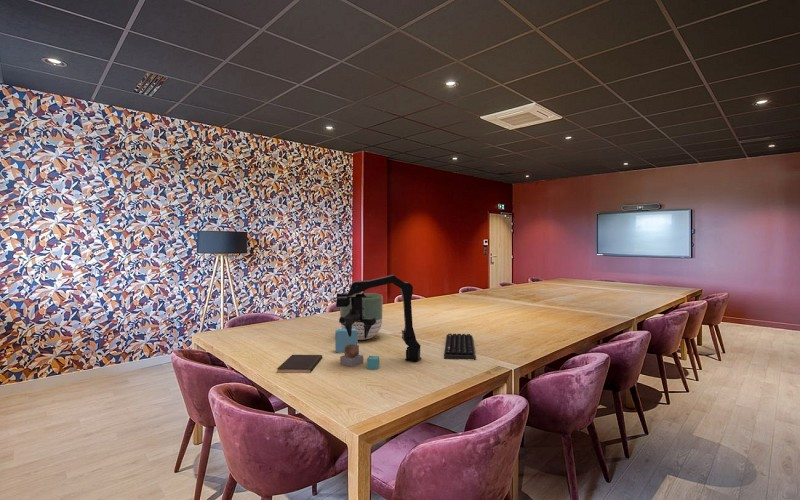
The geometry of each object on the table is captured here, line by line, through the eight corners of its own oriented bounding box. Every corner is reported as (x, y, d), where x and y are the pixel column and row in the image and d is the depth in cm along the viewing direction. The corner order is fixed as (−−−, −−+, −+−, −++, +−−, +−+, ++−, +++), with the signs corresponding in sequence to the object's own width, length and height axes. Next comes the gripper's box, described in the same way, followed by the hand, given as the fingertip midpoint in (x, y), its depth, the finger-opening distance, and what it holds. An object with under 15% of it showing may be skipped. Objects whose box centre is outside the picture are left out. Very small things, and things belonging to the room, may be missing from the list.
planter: (356, 346, 224) (356, 300, 223) (331, 338, 243) (331, 295, 243) (391, 338, 241) (391, 295, 241) (365, 331, 261) (365, 291, 261)
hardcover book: (276, 373, 179) (276, 368, 179) (292, 358, 202) (292, 354, 202) (310, 373, 178) (310, 368, 178) (322, 359, 201) (322, 354, 201)
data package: (357, 349, 217) (356, 328, 217) (357, 351, 213) (357, 330, 212) (335, 350, 215) (335, 329, 215) (335, 352, 210) (335, 331, 210)
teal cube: (379, 366, 187) (379, 356, 187) (377, 369, 182) (377, 359, 182) (369, 365, 188) (369, 355, 188) (367, 369, 183) (367, 358, 183)
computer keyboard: (446, 338, 243) (446, 332, 243) (472, 339, 241) (472, 333, 241) (443, 360, 199) (443, 352, 199) (475, 361, 196) (475, 353, 196)
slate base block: (363, 363, 193) (363, 355, 192) (352, 367, 186) (351, 359, 186) (351, 360, 197) (351, 352, 197) (340, 364, 191) (340, 356, 191)
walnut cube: (358, 355, 193) (358, 345, 193) (353, 357, 189) (353, 347, 189) (350, 353, 195) (350, 344, 195) (344, 356, 191) (344, 346, 191)
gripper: (332, 307, 190) (332, 339, 190) (364, 310, 181) (365, 343, 182) (345, 304, 200) (345, 334, 200) (376, 306, 191) (377, 337, 192)
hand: (357, 337), depth 193 cm, fingers open, 9 cm apart
